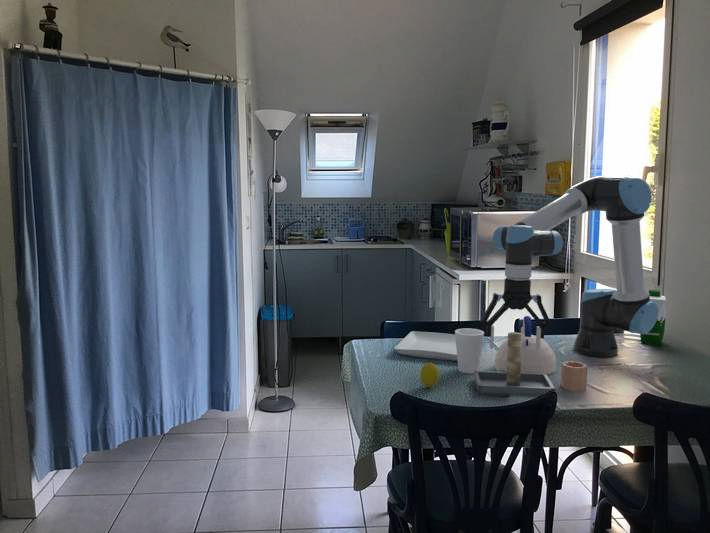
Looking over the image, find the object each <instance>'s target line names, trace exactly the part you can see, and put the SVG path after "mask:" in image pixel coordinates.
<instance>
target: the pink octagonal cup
mask: <svg viewBox="0 0 710 533" xmlns="http://www.w3.org/2000/svg"><path fill="white" fill-rule="evenodd" d="M588 367H589V366H588V365H587V364H586V363H583V362H580V361H575V360H566V361H564V362H561V370H560V371H561V372H560V386H561V388H562V389H564V390H567V391H571V392H583V391H585V390H587V386H588V385H587V382H588Z"/></svg>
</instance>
